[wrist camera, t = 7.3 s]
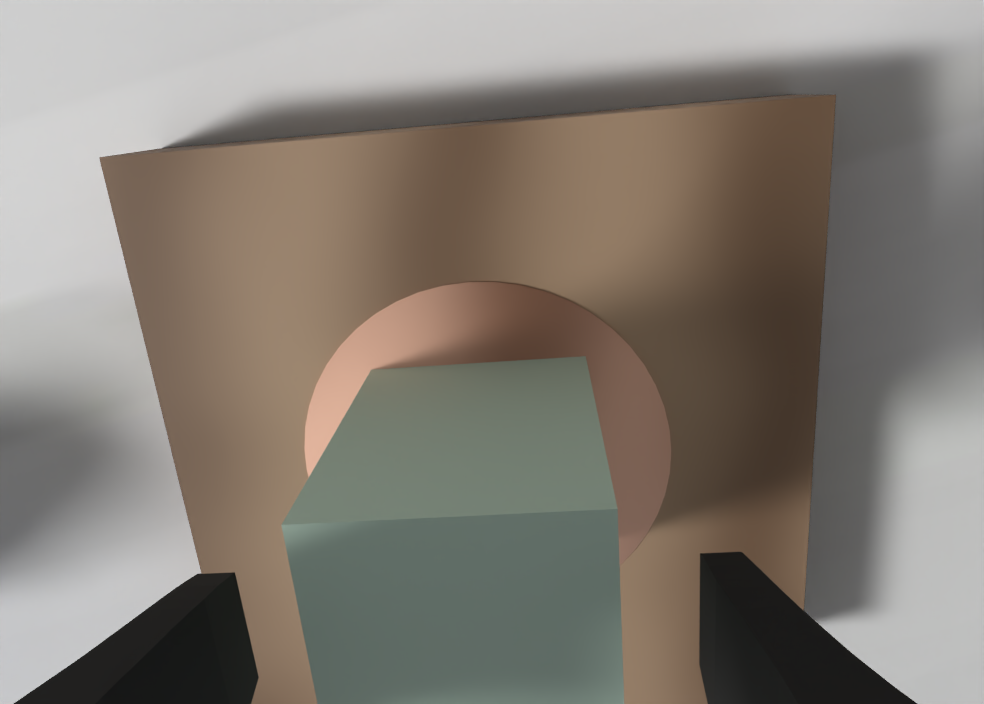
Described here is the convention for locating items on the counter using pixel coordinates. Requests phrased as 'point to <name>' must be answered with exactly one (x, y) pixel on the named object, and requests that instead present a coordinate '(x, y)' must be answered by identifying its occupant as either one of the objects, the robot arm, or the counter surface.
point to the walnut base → (499, 328)
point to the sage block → (462, 541)
